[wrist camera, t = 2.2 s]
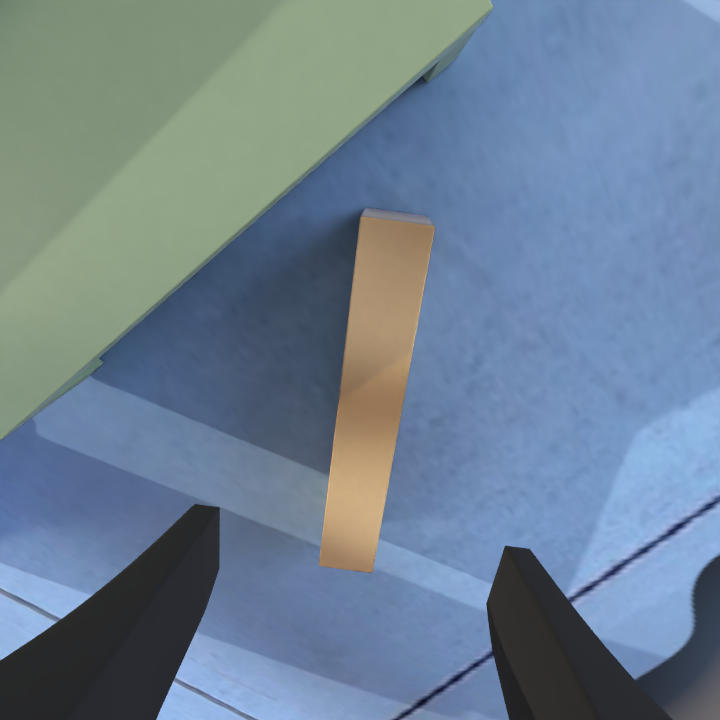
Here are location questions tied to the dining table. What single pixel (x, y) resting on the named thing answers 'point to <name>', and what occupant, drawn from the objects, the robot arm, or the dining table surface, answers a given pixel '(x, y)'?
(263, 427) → the dining table surface
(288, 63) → the shelf
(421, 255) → the stick
